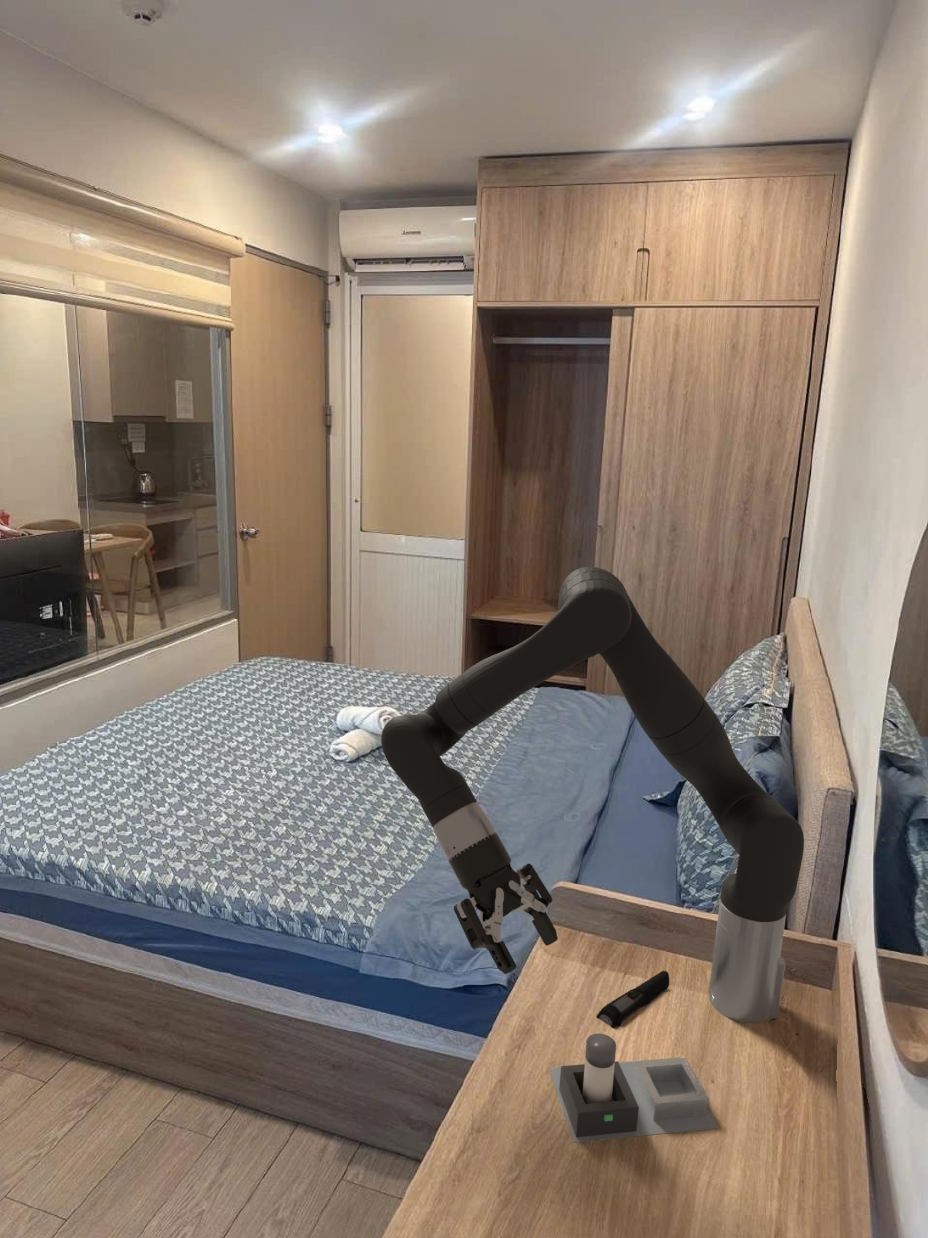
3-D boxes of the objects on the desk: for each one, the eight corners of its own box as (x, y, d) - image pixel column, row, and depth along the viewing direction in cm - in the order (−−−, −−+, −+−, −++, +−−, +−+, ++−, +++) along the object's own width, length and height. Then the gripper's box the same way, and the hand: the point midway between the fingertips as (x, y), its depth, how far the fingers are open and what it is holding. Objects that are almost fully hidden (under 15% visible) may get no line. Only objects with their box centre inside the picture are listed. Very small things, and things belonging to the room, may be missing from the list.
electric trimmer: (675, 994, 133) (677, 976, 132) (612, 1038, 122) (614, 1019, 122) (654, 982, 135) (656, 964, 135) (591, 1024, 125) (593, 1005, 124)
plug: (605, 1097, 110) (610, 1032, 108) (614, 1119, 106) (620, 1052, 104) (577, 1100, 109) (582, 1035, 107) (586, 1122, 106) (591, 1055, 104)
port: (615, 1084, 112) (617, 1061, 111) (637, 1133, 105) (639, 1109, 104) (559, 1089, 111) (561, 1066, 110) (576, 1139, 103) (578, 1115, 103)
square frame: (684, 1074, 114) (685, 1058, 114) (706, 1115, 108) (708, 1098, 107) (633, 1078, 113) (635, 1062, 113) (653, 1120, 107) (655, 1103, 106)
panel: (679, 1063, 118) (679, 1057, 117) (718, 1134, 106) (719, 1128, 106) (548, 1075, 115) (548, 1068, 114) (573, 1149, 103) (574, 1142, 103)
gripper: (449, 852, 109) (513, 973, 105) (521, 816, 119) (582, 925, 115) (419, 873, 114) (479, 990, 110) (490, 837, 124) (548, 942, 120)
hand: (532, 956), depth 112 cm, fingers open, 8 cm apart
